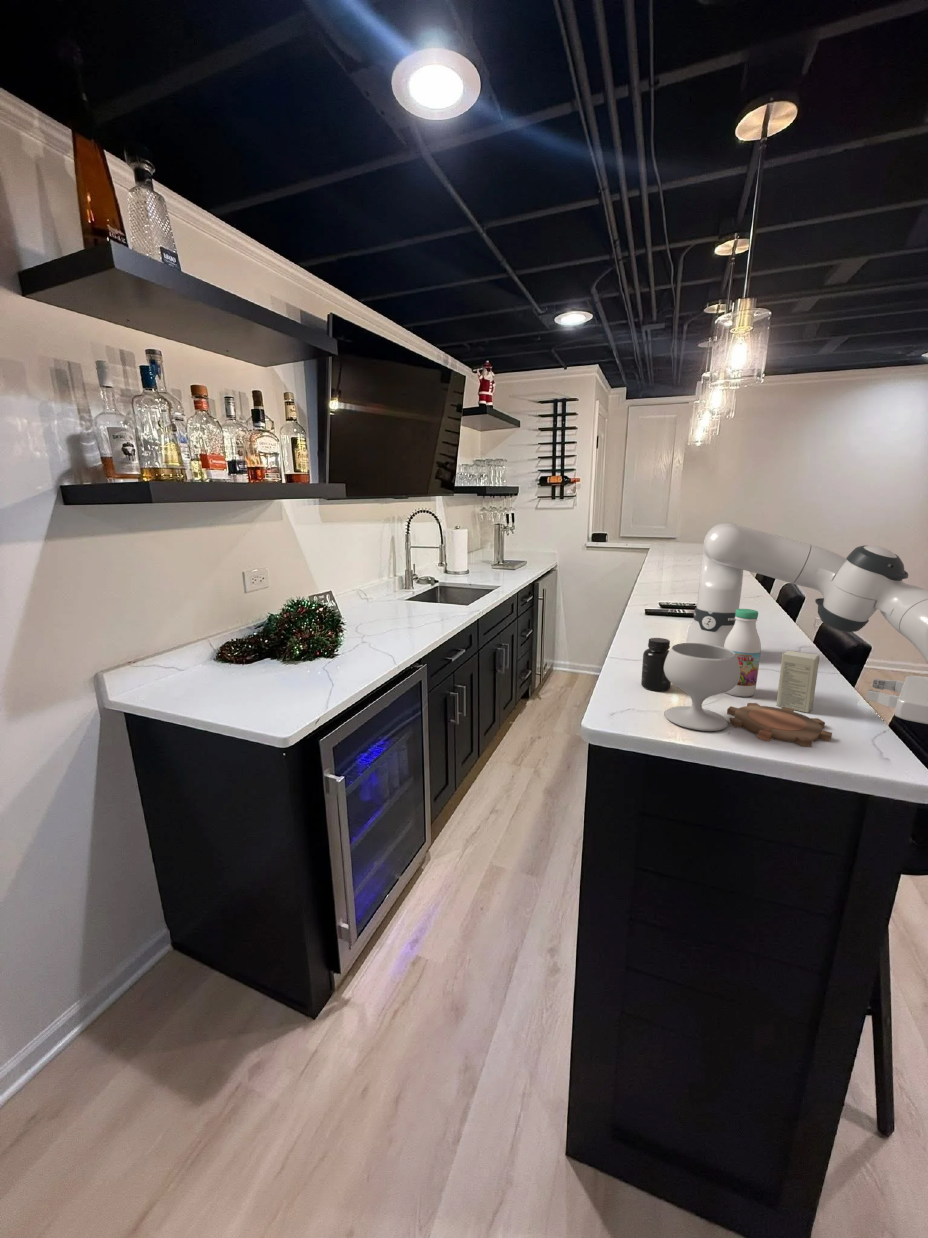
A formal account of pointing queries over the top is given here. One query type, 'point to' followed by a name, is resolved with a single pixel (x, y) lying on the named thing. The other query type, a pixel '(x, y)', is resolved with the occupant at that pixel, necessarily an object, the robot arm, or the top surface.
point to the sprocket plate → (778, 724)
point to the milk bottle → (745, 651)
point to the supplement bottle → (655, 665)
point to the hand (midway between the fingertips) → (870, 688)
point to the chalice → (700, 682)
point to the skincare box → (797, 680)
